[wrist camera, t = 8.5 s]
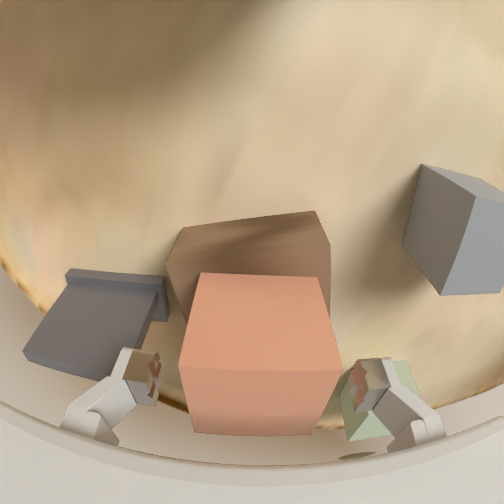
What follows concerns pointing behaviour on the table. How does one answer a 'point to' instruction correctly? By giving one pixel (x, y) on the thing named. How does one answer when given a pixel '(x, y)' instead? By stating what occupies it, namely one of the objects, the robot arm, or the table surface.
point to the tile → (97, 321)
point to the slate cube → (457, 232)
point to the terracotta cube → (258, 355)
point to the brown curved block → (250, 252)
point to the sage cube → (366, 421)
